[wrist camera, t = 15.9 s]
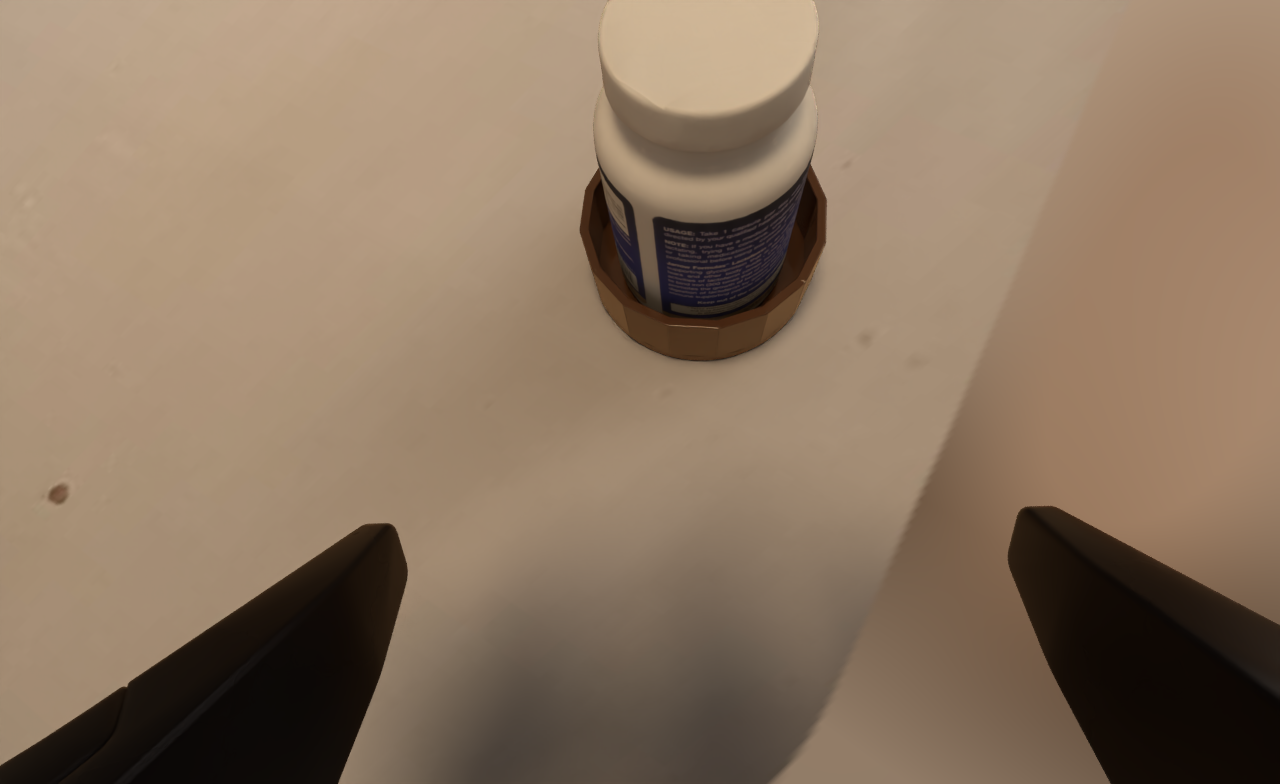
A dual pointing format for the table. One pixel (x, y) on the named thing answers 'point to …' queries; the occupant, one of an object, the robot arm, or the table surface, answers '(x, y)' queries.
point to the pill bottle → (705, 145)
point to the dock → (701, 334)
